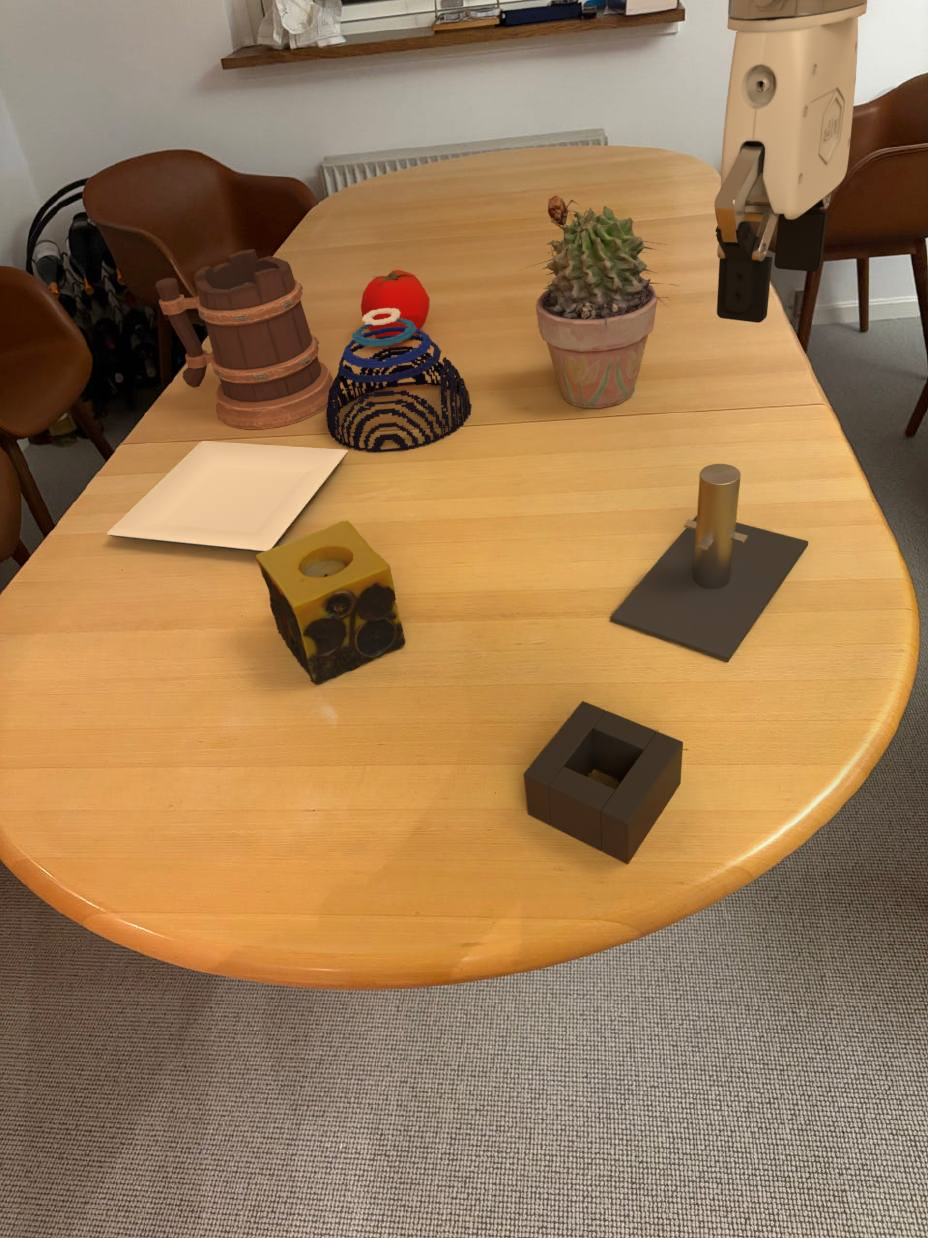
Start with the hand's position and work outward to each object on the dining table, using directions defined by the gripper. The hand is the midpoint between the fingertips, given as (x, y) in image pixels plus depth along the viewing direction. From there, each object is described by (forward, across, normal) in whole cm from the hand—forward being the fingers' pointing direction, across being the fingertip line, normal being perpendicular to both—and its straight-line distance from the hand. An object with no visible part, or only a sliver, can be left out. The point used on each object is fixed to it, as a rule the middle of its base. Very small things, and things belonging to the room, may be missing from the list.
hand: (770, 292), depth 60 cm
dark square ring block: (+33, -21, +2) cm, 39 cm away
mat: (+32, +8, +6) cm, 34 cm away
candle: (+32, -18, +34) cm, 50 cm away
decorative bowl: (+31, +22, +59) cm, 70 cm away
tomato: (+31, +44, +77) cm, 94 cm away
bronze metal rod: (+32, +8, +6) cm, 33 cm away
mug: (+31, +17, +82) cm, 89 cm away
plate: (+31, -5, +64) cm, 71 cm away
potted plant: (+32, +39, +36) cm, 62 cm away
